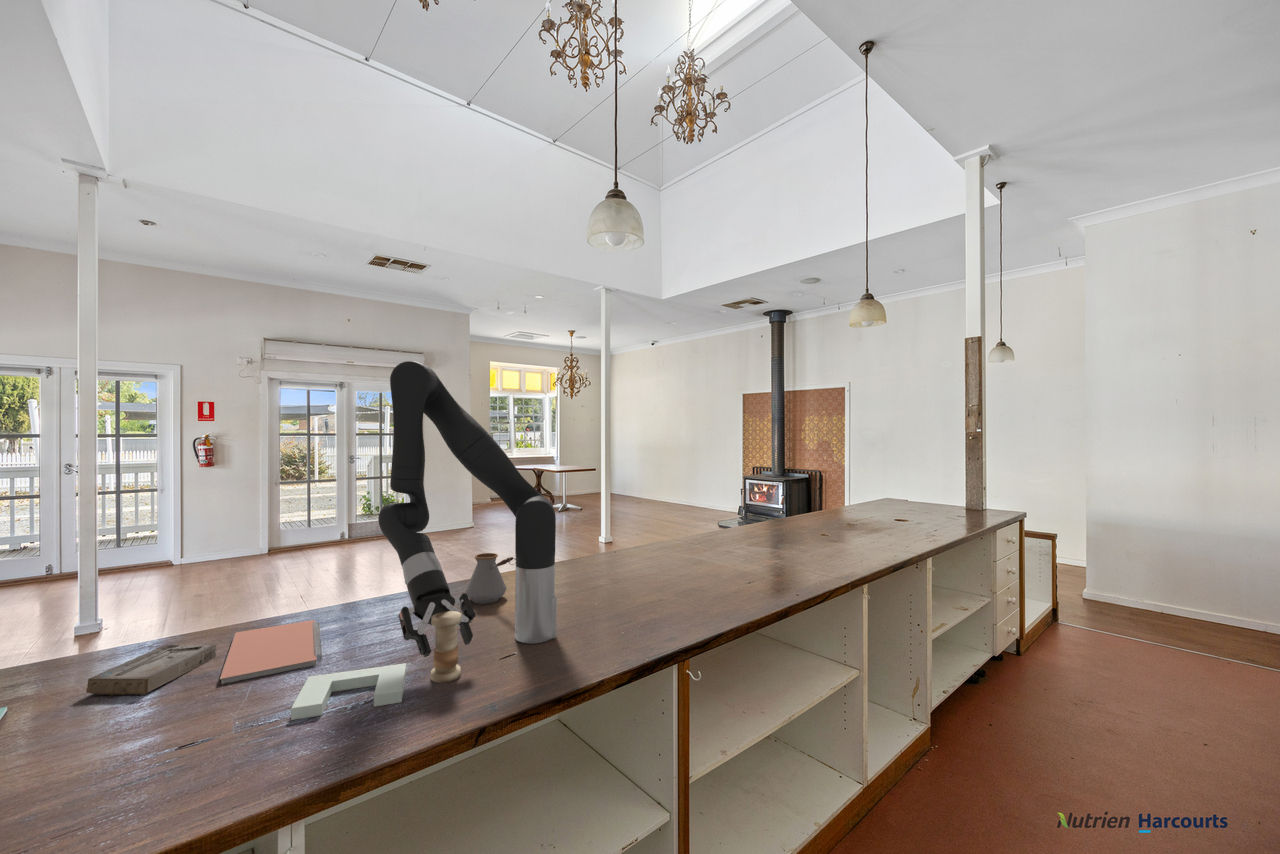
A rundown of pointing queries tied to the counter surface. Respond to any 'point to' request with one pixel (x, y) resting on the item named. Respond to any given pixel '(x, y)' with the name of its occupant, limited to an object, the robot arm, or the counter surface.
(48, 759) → the counter surface
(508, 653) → the counter surface
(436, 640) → the bobbin
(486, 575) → the coffee pot
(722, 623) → the counter surface
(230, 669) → the notebook
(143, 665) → the box
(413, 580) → the robot arm
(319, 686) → the notched board
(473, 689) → the counter surface
